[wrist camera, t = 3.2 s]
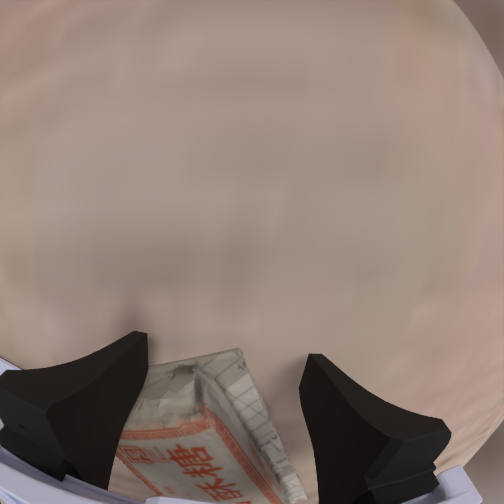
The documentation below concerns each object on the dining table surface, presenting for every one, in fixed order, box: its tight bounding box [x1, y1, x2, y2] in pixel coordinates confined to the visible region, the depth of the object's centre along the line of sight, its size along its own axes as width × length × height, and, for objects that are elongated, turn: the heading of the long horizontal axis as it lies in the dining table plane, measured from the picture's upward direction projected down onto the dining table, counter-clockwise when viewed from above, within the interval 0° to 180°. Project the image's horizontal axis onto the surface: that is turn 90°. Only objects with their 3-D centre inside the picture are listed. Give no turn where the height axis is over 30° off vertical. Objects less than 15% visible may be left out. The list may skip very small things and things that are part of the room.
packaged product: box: [115, 348, 308, 504], centre depth 13 cm, size 18×5×10 cm
